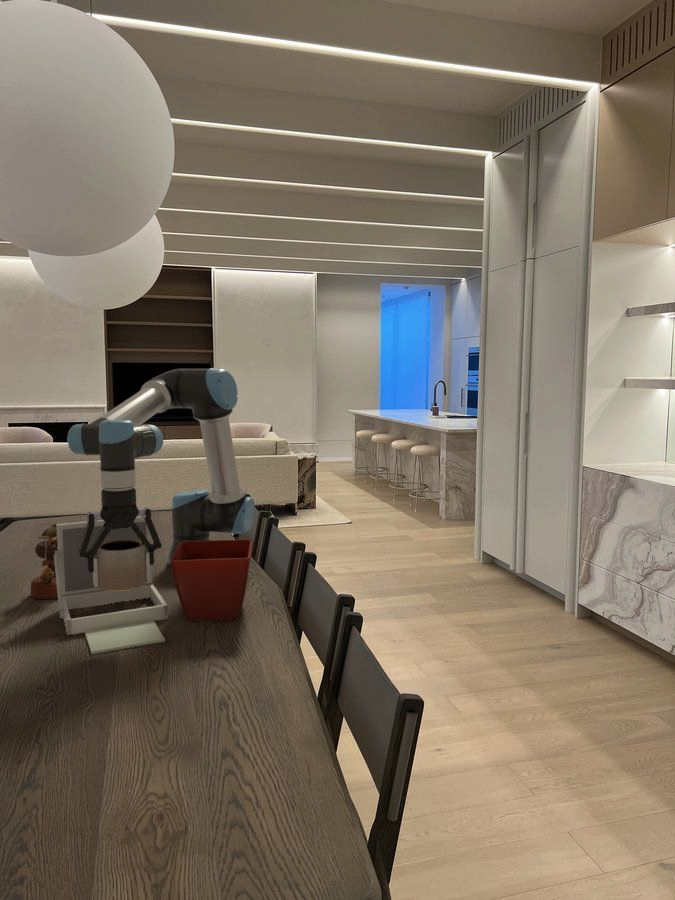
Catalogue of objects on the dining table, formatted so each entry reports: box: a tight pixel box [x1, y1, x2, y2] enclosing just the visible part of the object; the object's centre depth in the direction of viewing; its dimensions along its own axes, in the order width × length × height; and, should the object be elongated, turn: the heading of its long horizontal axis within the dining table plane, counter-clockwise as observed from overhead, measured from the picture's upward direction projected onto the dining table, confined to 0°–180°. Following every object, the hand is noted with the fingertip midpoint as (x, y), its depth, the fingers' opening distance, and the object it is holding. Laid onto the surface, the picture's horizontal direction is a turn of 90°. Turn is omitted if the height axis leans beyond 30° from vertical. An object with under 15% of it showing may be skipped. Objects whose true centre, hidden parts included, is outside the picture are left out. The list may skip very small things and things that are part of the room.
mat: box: [84, 620, 166, 655], centre depth 158 cm, size 16×13×1 cm
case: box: [54, 516, 169, 636], centre depth 172 cm, size 25×20×22 cm
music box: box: [30, 522, 58, 600], centre depth 189 cm, size 15×11×20 cm
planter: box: [96, 539, 146, 592], centre depth 156 cm, size 11×11×10 cm
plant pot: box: [170, 539, 253, 622], centre depth 174 cm, size 19×19×17 cm
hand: (122, 581), depth 157 cm, fingers closed on planter, 11 cm apart
